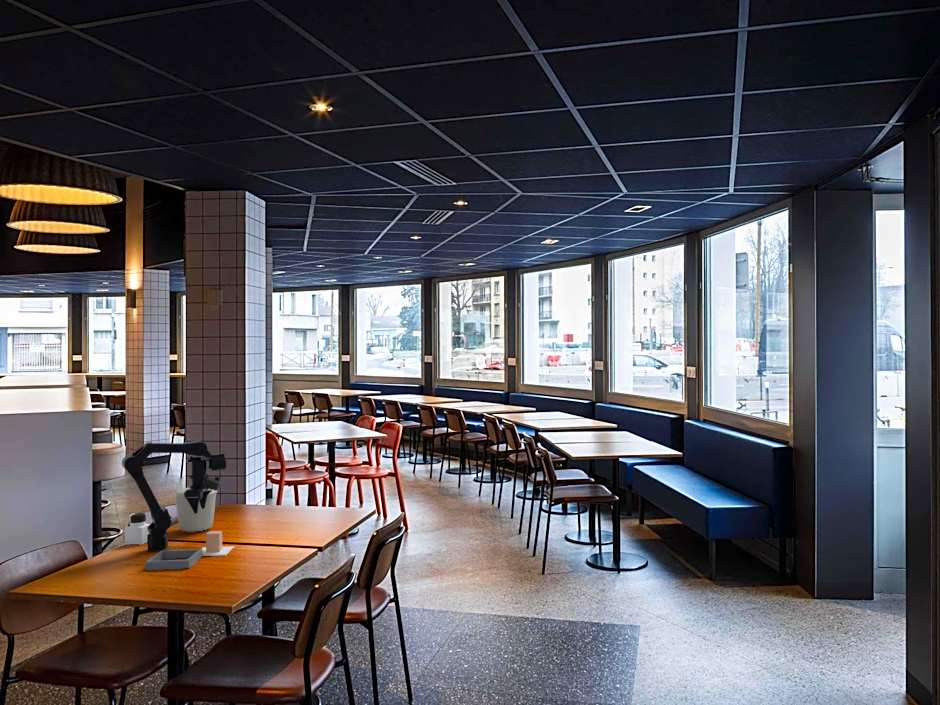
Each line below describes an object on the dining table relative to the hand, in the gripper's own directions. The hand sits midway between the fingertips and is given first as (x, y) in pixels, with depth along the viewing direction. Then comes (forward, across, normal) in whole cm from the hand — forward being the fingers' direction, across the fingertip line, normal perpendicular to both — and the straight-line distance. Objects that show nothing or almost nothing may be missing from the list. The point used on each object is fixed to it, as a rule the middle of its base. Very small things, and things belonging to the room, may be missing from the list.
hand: (199, 511), depth 292 cm
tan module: (+12, -15, -10) cm, 22 cm away
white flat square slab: (+13, -15, -10) cm, 22 cm away
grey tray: (+13, -29, 0) cm, 32 cm away
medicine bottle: (+13, +4, +26) cm, 30 cm away
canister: (+13, +24, +9) cm, 29 cm away
